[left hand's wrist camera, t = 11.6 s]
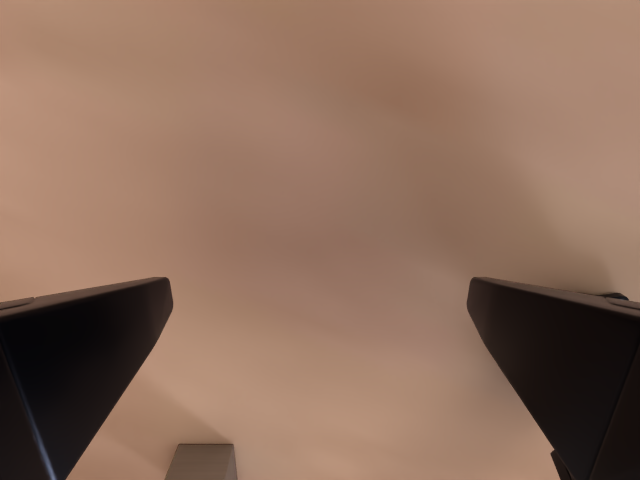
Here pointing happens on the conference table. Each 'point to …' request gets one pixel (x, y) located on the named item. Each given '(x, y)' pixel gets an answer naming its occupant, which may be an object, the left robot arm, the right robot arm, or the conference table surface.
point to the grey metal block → (203, 462)
